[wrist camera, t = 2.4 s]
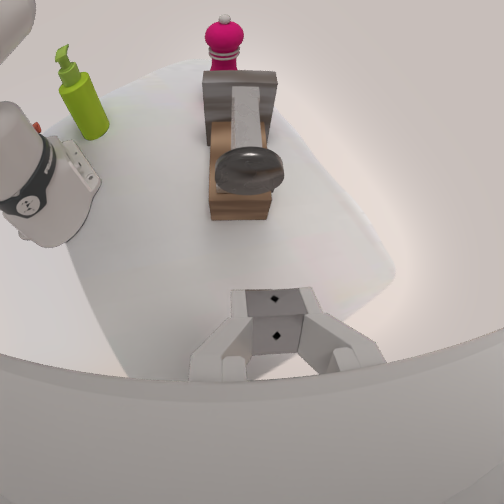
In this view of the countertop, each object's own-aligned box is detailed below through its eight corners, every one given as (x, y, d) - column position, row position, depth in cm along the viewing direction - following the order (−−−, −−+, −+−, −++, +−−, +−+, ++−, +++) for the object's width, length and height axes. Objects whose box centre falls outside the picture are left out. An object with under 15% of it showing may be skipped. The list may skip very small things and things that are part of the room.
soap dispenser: (107, 111, 47) (78, 36, 28) (110, 132, 45) (75, 52, 26) (83, 123, 46) (47, 52, 27) (84, 144, 44) (42, 69, 25)
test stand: (272, 219, 42) (291, 164, 28) (204, 220, 41) (194, 164, 28) (265, 133, 47) (275, 71, 34) (208, 133, 46) (203, 70, 33)
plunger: (278, 251, 37) (322, 160, 18) (217, 252, 36) (205, 158, 17) (271, 179, 40) (299, 68, 21) (217, 179, 40) (212, 65, 21)
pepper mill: (235, 89, 50) (239, 5, 31) (248, 110, 49) (257, 20, 30) (200, 97, 49) (195, 11, 30) (211, 119, 47) (207, 26, 28)
